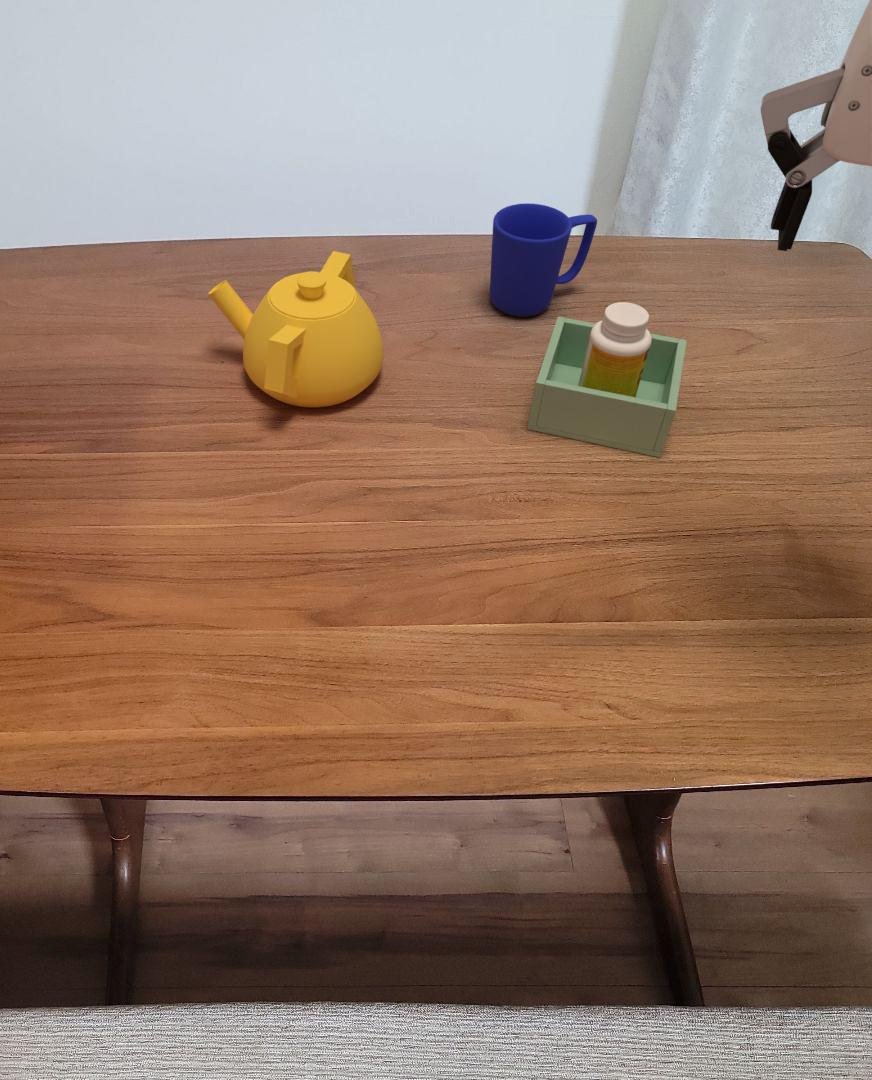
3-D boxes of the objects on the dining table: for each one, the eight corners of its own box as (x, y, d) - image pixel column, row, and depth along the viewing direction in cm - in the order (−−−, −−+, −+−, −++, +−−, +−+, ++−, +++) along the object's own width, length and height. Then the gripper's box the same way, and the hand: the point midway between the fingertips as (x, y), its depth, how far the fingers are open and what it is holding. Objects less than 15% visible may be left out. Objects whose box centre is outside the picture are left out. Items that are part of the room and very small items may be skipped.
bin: (671, 386, 94) (687, 339, 90) (660, 457, 87) (676, 410, 83) (548, 362, 97) (557, 316, 93) (526, 429, 90) (536, 382, 86)
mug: (599, 308, 104) (619, 225, 97) (504, 330, 101) (518, 247, 94) (560, 272, 109) (576, 191, 102) (469, 293, 106) (479, 210, 99)
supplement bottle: (637, 421, 89) (665, 331, 82) (580, 420, 90) (602, 330, 82) (626, 385, 93) (650, 296, 86) (570, 385, 93) (590, 296, 86)
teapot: (251, 303, 105) (244, 211, 97) (406, 333, 101) (412, 239, 93) (173, 407, 92) (158, 311, 84) (347, 446, 88) (349, 349, 80)
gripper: (1192, -72, 46) (1011, 247, 58) (818, -98, 50) (724, 205, 62) (1237, -29, 41) (1029, 309, 53) (819, -61, 45) (716, 259, 57)
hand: (865, 253), depth 58 cm, fingers open, 9 cm apart
